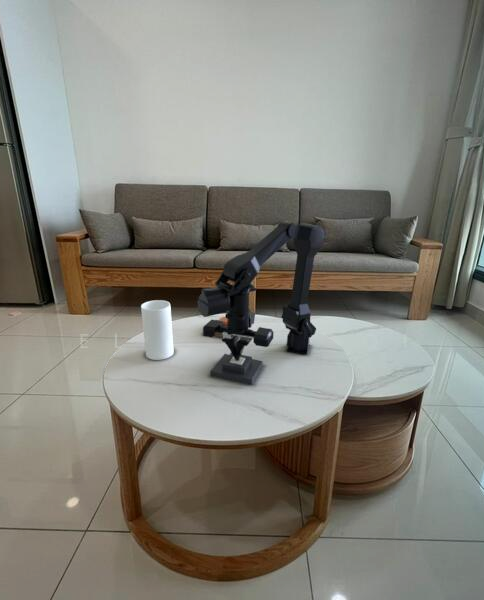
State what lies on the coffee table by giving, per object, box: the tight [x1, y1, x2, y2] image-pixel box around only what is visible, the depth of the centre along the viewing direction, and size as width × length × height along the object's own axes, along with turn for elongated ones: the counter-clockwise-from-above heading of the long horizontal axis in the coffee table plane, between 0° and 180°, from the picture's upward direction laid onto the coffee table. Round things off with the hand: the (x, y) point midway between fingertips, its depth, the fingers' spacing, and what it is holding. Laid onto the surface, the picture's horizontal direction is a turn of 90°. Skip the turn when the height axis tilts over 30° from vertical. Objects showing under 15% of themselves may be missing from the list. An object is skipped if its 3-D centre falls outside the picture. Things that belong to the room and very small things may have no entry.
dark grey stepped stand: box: [210, 352, 264, 386], centre depth 91 cm, size 12×10×4 cm
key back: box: [218, 316, 227, 326], centre depth 113 cm, size 4×4×2 cm
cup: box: [140, 299, 175, 361], centre depth 97 cm, size 8×8×16 cm
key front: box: [229, 356, 246, 365], centre depth 90 cm, size 4×4×2 cm
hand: (237, 359), depth 90 cm, fingers closed, pressing on key front
